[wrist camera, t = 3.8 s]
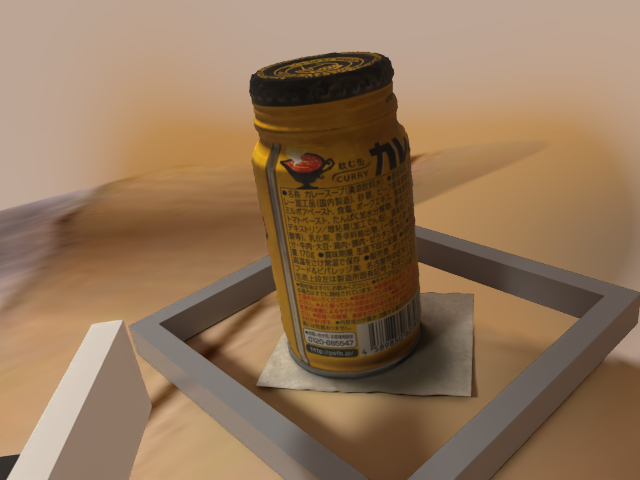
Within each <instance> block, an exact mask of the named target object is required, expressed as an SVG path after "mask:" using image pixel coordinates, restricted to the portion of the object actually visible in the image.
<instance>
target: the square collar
mask: <svg viewBox="0 0 640 480" xmlns="http://www.w3.org/2000/svg"><path fill="white" fill-rule="evenodd" d="M415 234H416V245H417V247H416V250H417V253H418V262H421V263H424V264H427V265H429V266H432V267H435V268H438V269H441V270H444V271H446V272H449V273H452V274H455V275H458V276H461V277H464V278H466V279H469V280H472V281H475V282H478V283H481V284H483V285H486V286H489V287H492V288H495V289H498V290H501V291H503V292H506V293H509V294H512V295H515V296H518V297H521V298H523V299H526V300H529V301H532V302H535V303H537V304H540V305H543V306H546V307H549V308H552V309H555V310H557V311H560V312H563V313H566V314H569V315H572V316H574V317H577V318H580V320H578V321H577V322H576V323H575V324H574V325H573V326H572V327H571V328H570V329H569V330H567V331H566V332H565V333H564V334H563V335H562V336H561V337H560V338H559V339H558V340H557V341H556V342H554V343H553V344H552V345H551V346H550V347H549V348H548V349H547V350H546V351H545V352H544V353H543V354H542V355H541V356H539V357H538V358H537V359H536V360H535V361H534V362H533V363H532V364H531V365H530V366H529V367H528V368H527V369H525V370H524V371H523V372H522V373H521V374H520V375H519V376H518V377H517V378H516V379H515V380H514V381H513V382H511V383H510V384H509V385H508V386H507V387H506V388H505V389H504V390H503V391H502V392H501V393H500V394H499V395H497V396H496V397H495V398H494V399H493V400H492V401H491V402H490V403H489V404H488V405H487V406H486V407H485V408H483V409H482V410H481V411H480V412H479V413H478V414H477V415H476V416H475V417H474V418H473V419H472V420H471V421H469V422H468V423H467V424H466V425H465V426H464V427H463V428H462V429H461V430H460V431H459V432H458V433H457V434H455V435H454V436H453V437H452V438H451V439H450V440H449V441H448V442H447V443H446V444H445V445H444V446H443V447H441V448H440V449H439V450H438V451H437V452H436V453H435V454H434V455H433V456H432V457H431V458H430V459H429V460H427V461H426V462H425V463H424V464H423V465H422V466H421V467H420V468H419V469H418V470H417V471H416V472H415V473H413V474H412V475H411V476H410V477H409V478H408V479H407V480H489V479H490V478H491V477H492V476H493V475H494V474H495V473H496V472H497V471H498V470H499V469H500V468H501V467H502V466H503V465H504V464H505V462H506V461H507V460H508V459H509V458H510V457H511V456H512V455H513V454H514V453H515V452H516V451H517V450H518V449H519V448H520V447H521V446H522V445H523V444H524V442H525V441H526V440H527V439H528V438H529V437H530V436H531V435H532V434H533V433H534V432H535V431H536V430H537V429H538V428H539V427H540V426H541V425H542V423H543V422H544V421H545V420H546V419H547V418H548V417H549V416H550V415H551V414H552V413H553V412H554V411H555V410H556V409H557V408H558V407H559V406H560V405H561V403H562V402H563V401H564V400H565V399H566V398H567V397H568V396H569V395H570V394H571V393H572V392H573V391H574V390H575V389H576V388H577V387H578V386H579V385H580V383H581V382H582V381H583V380H584V379H585V378H586V377H587V376H588V375H589V374H590V373H591V372H592V371H593V370H594V369H595V368H596V367H597V366H598V365H599V363H600V362H601V361H602V360H603V359H604V358H605V357H606V356H607V355H608V354H609V353H610V352H611V351H612V350H613V349H614V348H615V347H616V346H617V344H618V343H619V342H620V341H621V340H622V339H623V338H624V337H625V336H626V335H627V334H628V333H629V332H630V331H631V330H632V329H633V328H634V327H635V326H636V324H637V323H638V314H639V307H640V292H637V291H634V290H630V289H627V288H624V287H620V286H617V285H614V284H610V283H607V282H603V281H600V280H597V279H594V278H590V277H587V276H583V275H580V274H577V273H573V272H570V271H566V270H563V269H560V268H556V267H553V266H550V265H546V264H543V263H539V262H536V261H533V260H529V259H526V258H523V257H520V256H516V255H513V254H509V253H506V252H503V251H499V250H496V249H493V248H489V247H486V246H482V245H479V244H476V243H472V242H469V241H466V240H463V239H459V238H456V237H453V236H449V235H446V234H442V233H439V232H436V231H432V230H429V229H426V228H422V227H419V226H416V225H415ZM275 290H277V289H276V284H275V281H274V277H273V270H272V265H271V259H270V256H269V255H268V256H266V257H264V258H262V259H260V260H258V261H256V262H254V263H252V264H250V265H248V266H246V267H244V268H242V269H240V270H238V271H236V272H234V273H232V274H230V275H228V276H226V277H224V278H222V279H220V280H218V281H216V282H214V283H213V284H211V285H209V286H207V287H205V288H203V289H201V290H199V291H197V292H195V293H193V294H191V295H189V296H187V297H185V298H183V299H181V300H179V301H177V302H175V303H173V304H171V305H169V306H167V307H165V308H163V309H161V310H159V311H157V312H155V313H153V314H151V315H149V316H147V317H145V318H144V319H142V320H140V321H138V322H136V323H134V324H132V325H130V326H128V327H129V330H130V333H131V336H132V339H133V342H134V345H135V348H136V351H137V353H138V354H139V355H140V356H141V357H143V358H144V359H145V360H146V361H147V362H148V363H150V364H151V365H152V366H153V367H154V368H155V369H157V370H158V371H159V372H160V373H161V374H162V375H164V376H165V377H166V378H167V379H168V380H169V381H171V382H172V383H173V384H174V385H175V386H176V387H178V388H179V389H180V390H181V391H182V392H183V393H185V394H186V395H187V396H188V397H189V398H190V399H192V400H193V401H194V402H195V403H196V404H197V405H199V406H200V407H201V408H202V409H203V410H204V411H206V412H207V413H208V414H209V415H210V416H211V417H213V418H214V419H215V420H216V421H217V422H218V423H220V424H221V425H222V426H223V427H224V428H225V429H227V430H228V431H229V432H230V433H231V434H232V435H234V436H235V437H236V438H237V439H238V440H239V441H241V442H242V443H243V444H244V445H245V446H246V447H248V448H249V449H250V450H251V451H252V452H253V453H255V454H256V455H257V456H258V457H259V458H260V459H262V460H263V461H264V462H265V463H266V464H267V465H269V466H270V467H271V468H272V469H273V470H274V471H276V472H277V473H278V474H279V475H280V476H281V477H283V478H284V479H285V480H370V479H368V478H367V477H366V476H364V475H363V474H362V473H360V472H359V471H357V470H356V469H355V468H353V467H352V466H351V465H349V464H348V463H347V462H345V461H344V460H343V459H341V458H340V457H338V456H337V455H336V454H334V453H333V452H332V451H330V450H329V449H328V448H326V447H325V446H324V445H322V444H321V443H319V442H318V441H317V440H315V439H314V438H313V437H311V436H310V435H309V434H307V433H306V432H305V431H303V430H302V429H300V428H299V427H298V426H296V425H295V424H294V423H292V422H291V421H290V420H288V419H287V418H286V417H284V416H283V415H281V414H280V413H279V412H277V411H276V410H275V409H273V408H272V407H271V406H269V405H268V404H267V403H265V402H264V401H263V400H261V399H260V398H258V397H257V396H256V395H254V394H253V393H252V392H250V391H249V390H248V389H246V388H245V387H244V386H242V385H241V384H239V383H238V382H237V381H235V380H234V379H233V378H231V377H230V376H229V375H227V374H226V373H225V372H223V371H222V370H220V369H219V368H218V367H216V366H215V365H214V364H212V363H211V362H210V361H208V360H207V359H206V358H204V357H203V356H201V355H200V354H199V353H197V352H196V351H195V350H193V349H192V348H191V347H189V346H188V345H187V344H185V343H184V342H183V341H185V340H186V339H188V338H190V337H192V336H194V335H196V334H197V333H199V332H201V331H203V330H205V329H206V328H208V327H210V326H212V325H214V324H215V323H217V322H219V321H221V320H223V319H224V318H226V317H228V316H230V315H232V314H233V313H235V312H237V311H239V310H241V309H242V308H244V307H246V306H248V305H250V304H251V303H253V302H255V301H257V300H259V299H261V298H262V297H264V296H266V295H268V294H270V293H271V292H273V291H275Z"/></svg>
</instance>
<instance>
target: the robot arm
mask: <svg viewBox="0 0 640 480" xmlns="http://www.w3.org/2000/svg"><path fill="white" fill-rule="evenodd" d="M151 408H152V405H151V402H150V399H149V396H148V393H147V390H146V387H145V384H144V381H143V378H142V375H141V372H140V369H139V366H138V363H137V360H136V357H135V354H134V351H133V348H132V345H131V342H130V339H129V336H128V333H127V330H126V327H125V324H124V321H123V320H118V321H111V322H103V323H95V324H92V326H91V327H90V329H89V331H88V333H87V335H86V337H85V338H84V340H83V342H82V344H81V346H80V347H79V349H78V351H77V353H76V355H75V357H74V358H73V360H72V362H71V364H70V366H69V367H68V369H67V371H66V373H65V375H64V377H63V378H62V380H61V382H60V384H59V386H58V387H57V389H56V391H55V393H54V395H53V396H52V398H51V400H50V402H49V404H48V406H47V407H46V409H45V411H44V413H43V415H42V416H41V418H40V420H39V422H38V424H37V426H36V427H35V429H34V431H33V433H32V435H31V436H30V438H29V440H28V442H27V444H26V446H25V447H24V449H23V451H22V453H21V454H19V455H11V456H3V457H0V480H129V477H130V473H131V470H132V467H133V464H134V461H135V458H136V455H137V452H138V448H139V445H140V442H141V439H142V436H143V433H144V430H145V427H146V424H147V420H148V417H149V414H150V411H151Z"/></svg>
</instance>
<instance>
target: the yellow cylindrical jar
mask: <svg viewBox="0 0 640 480" xmlns="http://www.w3.org/2000/svg"><path fill="white" fill-rule="evenodd" d="M393 75H394V69H393V68H392V65H391V61H390V60H389V58H387V57H385V56H384V55H381V54H378V53H370V52H342V53H329V54H322V55H317V56H308V57H302V58H299V59H294V60H288V61H283V62H280V63H276V64H273V65H270V66H267V67H264V68H262V69H261V70H258V71H257V72H256V73H255V74H252V76H251V80H250V90H249V92H250V96H251V98H252V104H253V106H254V113H255V118H254V126H255V128H256V130H257V131H258V133H259V137H260V138H259V139H258V142H257V144H256V146H255V149H254V151H253V156H252V165H253V171H254V175H255V182H256V186H257V190H258V199H259V202H260V209H261V212H262V215H263V220H264V225H265V229H266V237H267V240H268V243H267V247H268V249H269V256H270V259H271V265H272V270H273V277H274V281H275V284H276V289H277V295H276V298H277V300H278V303H279V305H280V310H281V319H282V323H283V328H284V332H283V334H282V336H281V338H280V340H279V342H278V343H277V346H276V348H275V350H274V352H273V354H272V355H271V357H270V358H269V361H268V362H267V363H266V366H265V368H264V370H263V371H262V373H261V375H260V378H259V380H258V382H257V384H256V386H268V387H278V388H289V389H298V390H305V389H311V390H315V391H328V392H333V391H340V392H362V393H365V392H371V391H382V392H386V393H394V394H398V393H402V394H408V395H436V394H447V395H453V396H471V380H472V346H473V307H474V294H461V293H448V294H439V293H434V292H428V293H420V286H419V269H418V253H417V250H416V247H417V245H416V234H415V217H414V204H413V189H412V186H413V181H412V175H411V162H410V147H409V139H408V135H407V133H406V132H405V129H404V127H403V126H402V125H401V124H399V123H398V121H397V118H396V112H397V108H398V106H397V98H396V96H395V94H394V93H393V82H392V78H393Z"/></svg>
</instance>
